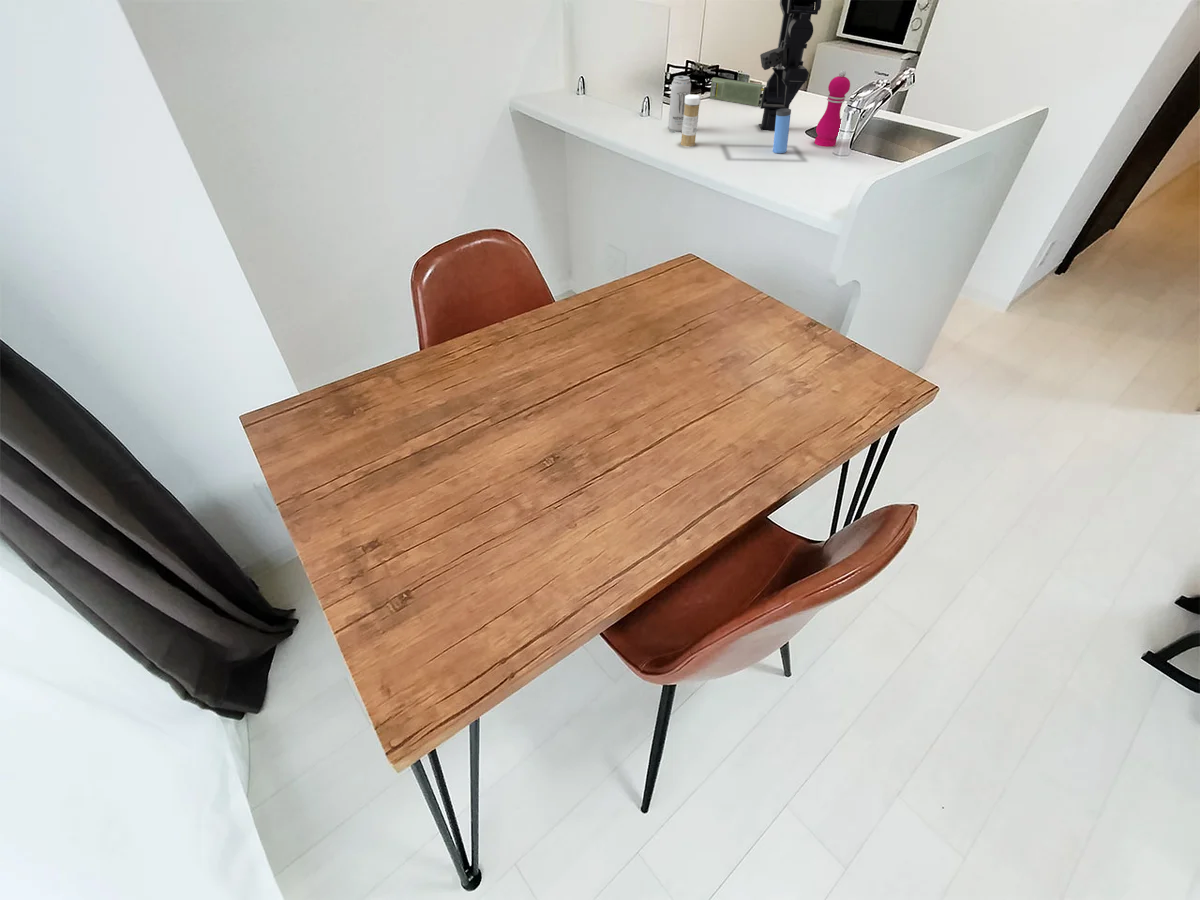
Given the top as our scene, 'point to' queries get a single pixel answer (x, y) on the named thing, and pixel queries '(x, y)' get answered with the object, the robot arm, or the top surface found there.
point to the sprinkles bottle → (690, 119)
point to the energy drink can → (678, 102)
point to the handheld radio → (736, 91)
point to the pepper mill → (832, 111)
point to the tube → (781, 130)
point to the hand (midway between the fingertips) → (782, 101)
